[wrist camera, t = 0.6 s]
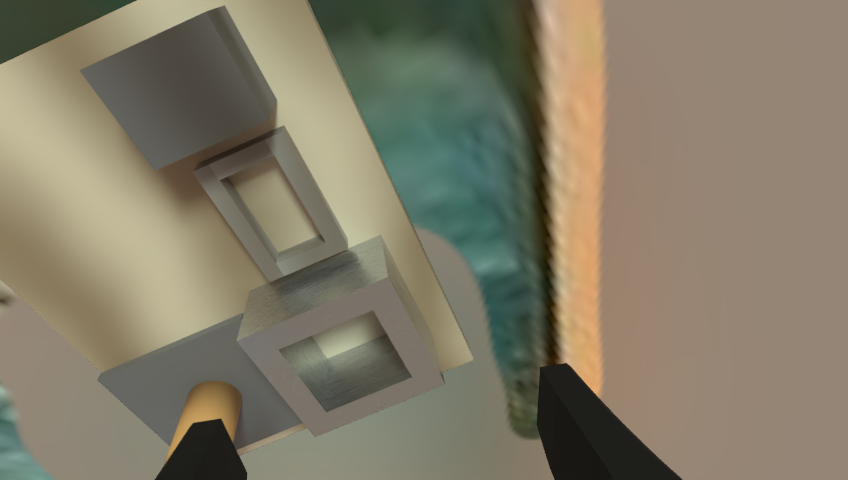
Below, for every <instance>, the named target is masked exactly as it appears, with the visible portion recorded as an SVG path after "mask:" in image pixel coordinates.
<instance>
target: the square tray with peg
mask: <svg viewBox="0 0 848 480" xmlns="http://www.w3.org/2000/svg"><path fill="white" fill-rule="evenodd" d="M242 318H243V313H241V314H239V315H236V316H234V317H232V318H229V319H227V320H224V321H222V322H220V323H217V324H215V325H213V326H210V327H208V328H206V329H203V330H201V331H199V332H196V333H194V334H192V335H189V336H187V337H185V338H182V339H180V340H178V341H175V342H173V343H170V344H168V345H166V346H163V347H161V348H159V349H156V350H154V351H152V352H149V353H147V354H145V355H142V356H140V357H138V358H135V359H133V360H131V361H128V362H126V363H123V364H121V365H119V366H116V367H114V368H112V369H109V370H107V371H105V372H102V373H101V375H100V376H99V378H98V381H99V382H100V383H101V384H102V385H103V386H105V388H107V389H108V390H109V391H110V392H111V393H112V394H113V395H114V396H115V397H116V398H118V399H119V400H120V401H121V402H122V403H123V404H124V405H125V406H126V407H127V408H129V409H130V410H131V411H132V412H133V413H134V414H135V415H136V416H137V417H138V418H140V419H141V420H142V421H143V422H144V423H145V424H146V425H147V426H148V427H149V428H150V429H152V430H153V431H154V432H155V433H156V434H157V435H158V436H159V437H160V438H162V440H164V441H165V442H166V443H167V444H168V445H169V446H170V449H169V452H168V455H167V458H166V460H165V464H166V462H167V461H168V459H169V458H170V456H171V455H172V453H173V451H174V450H175V448H176V447H177V445H178V444H179V442H180V441H181V439H182V438H183V436H184V435H185V433H186V432H187V430H188V429H189V427H190V426H191V425H192V424H193V423H195V422H202V421H208V420H214V419H220V418H221V419H222V421H223V423H224V425H225V427H226V429H227V432H228V434H229V436H230V438H231V440H232V442H233V444H234V446H235V448H236V450H238V449H240V448H243V447H245V446H248V445H250V444H253V443H255V442H257V441H260V440H262V439H265V438H267V437H270V436H272V435H274V434H277V433H279V432H282V431H284V430H287V429H289V428H292V427H294V426H296V425H299V424H301V423H303V422H302V421H301V419H300V418H299V417H298V416H297V414H296V413H295V412H294V411H293V410H292V408H291V407H290V406H289V405H288V403H287V402H286V401H285V400H284V399H283V397H282V396H281V395H280V394H279V392H278V391H277V390H276V389H275V388H274V386H273V385H272V384H271V383H270V382H269V380H268V379H267V378H266V377H265V375H264V374H263V373H262V372H261V371H260V369H259V368H258V367H257V366H256V364H255V363H254V362H253V361H252V360H251V358H250V357H249V356H248V355H247V353H246V352H245V351H244V350H243V349H242V347H241V346H240V345H239V344H238V342H237V337H238V333H239V329H240V326H241V322H242ZM165 464H164V465H165Z"/></svg>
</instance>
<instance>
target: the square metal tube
mask: <svg viewBox="0 0 848 480" xmlns="http://www.w3.org/2000/svg"><path fill="white" fill-rule="evenodd" d="M372 310H373V311H374V313H375V314H376V316H377V318H378V320H379V321H380V323H381V325H382V326H383V328H384V330H385V332H386V333H387V334H385V335H383V336H380V337H378V338H376V339H373V340H371V341H368V342H366V343H363V344H361V345H359V346H356V347H354V348H351V349H349V350H347V351H344V352H342V353H339V354H337V355H335V356H332V357H330V358H327V357H326V356H325V354H324V353H323V351H322V350H321V349H320V347H319V346H318V344H317V343H316V341H315V340H314V338H313V337H312V335H315V334H317V333H319V332H322V331H324V330H326V329H329V328H331V327H334V326H336V325H338V324H341V323H343V322H346V321H348V320H350V319H353V318H355V317H357V316H360V315H362V314H365V313H367V312H369V311H372ZM237 342H238V344H239V345H240V346H241V347H242V349H243V350H244V351H245V352H246V353H247V355H248V356H249V357H250V358H251V360H252V361H253V362H254V363H255V364H256V366H257V367H258V368H259V369H260V371H261V372H262V373H263V374H264V375H265V377H266V378H267V379H268V380H269V382H270V383H271V384H272V385H273V386H274V388H275V389H276V390H277V391H278V392H279V394H280V395H281V396H282V397H283V399H284V400H285V401H286V402H287V403H288V405H289V406H290V407H291V408H292V410H293V411H294V412H295V413H296V414H297V416H298V417H299V418H300V419H301V421H302V422H303V423H304V424H305V425H306V427H307V428H308V429H309V430H310V431H311V433H312V434H313V435H314V436H315V437H316V436H319V435H321V434H324V433H326V432H329V431H331V430H334V429H336V428H339V427H341V426H344V425H346V424H349V423H351V422H353V421H356V420H358V419H361V418H363V417H366V416H368V415H370V414H373V413H375V412H378V411H380V410H383V409H385V408H388V407H390V406H393V405H395V404H397V403H400V402H402V401H405V400H407V399H410V398H412V397H415V396H417V395H420V394H422V393H424V392H427V391H429V390H432V389H434V388H437V387H439V386H442V385H444V384H445V381H444V377H443V374H442V370H441V366H440V362H439V358H438V354H437V351H436V347H435V343H434V339H433V335H432V333H431V331H430V329H429V327H428V325H427V323H426V321H425V319H424V317H423V315H422V313H421V311H420V310H419V308H418V306H417V304H416V302H415V300H414V298H413V296H412V294H411V292H410V290H409V288H408V286H407V284H406V282H405V280H404V278H403V277H402V275H401V273H400V271H399V269H398V267H397V265H396V263H395V261H394V259H393V257H392V255H391V253H390V251H389V249H388V247H387V245H386V244H385V242H384V240H383V238H382V236H381V235H378V236H376V237H374V238H371V239H369V240H366V241H364V242H362V243H359V244H357V245H355V246H352V247H350V248H348V249H347V250H344V251H342V252H340V253H337V254H335V255H333V256H330V257H328V258H326V259H323V260H321V261H319V262H316V263H314V264H312V265H309V266H307V267H305V268H302V269H300V270H298V271H295V272H293V273H291V274H288V275H286V276H284V277H281V278H279V279H277V280H274V281H272V282H268V283H266V284H264V285H261V286H259V287H257V288H254V289H252V290H250V292H249V296H248V299H247V303H246V307H245V311H244V314H243V318H242V322H241V326H240V329H239V333H238V337H237Z"/></svg>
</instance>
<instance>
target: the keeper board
mask: <svg viewBox="0 0 848 480" xmlns="http://www.w3.org/2000/svg"><path fill="white" fill-rule="evenodd" d="M378 235H381V236H382V238H383V240H384V242H385V244H386V245H387V247H388V249H389V251H390V253H391V255H392V257H393V259H394V261H395V263H396V265H397V267H398V269H399V271H400V273H401V275H402V277H403V278H404V280H405V282H406V284H407V286H408V288H409V290H410V292H411V294H412V296H413V298H414V300H415V302H416V304H417V306H418V308H419V310H420V311H421V313H422V315H423V317H424V319H425V321H426V323H427V325H428V327H429V329H430V331H431V333H432V335H433V339H434V343H435V347H436V351H437V354H438V358H439V362H440V366H441V370H442V373H443V372H445V371H448V370H450V369H452V368H455V367H457V366H460V365H462V364H465V363H467V362H470V361H472V360H474V358H473V355H472V353H471V350H470V347H469V344H468V342H467V340H466V338H465V336H464V334H463V332H462V329H461V327H460V325H459V323H458V321H457V319H456V317H455V315H454V312H453V310H452V308H451V306H450V304H449V302H448V299H447V297H446V295H445V293H444V291H443V289H442V287H441V285H440V282H439V280H438V278H437V276H436V274H435V272H434V270H433V267H432V266H431V263H430V261H429V259H428V257H427V255H426V252H425V250H424V248H423V246H422V244H421V242H420V240H419V238H418V235H417V233H416V231H415V229H414V227H413V225H412V222H411V220H410V218H409V216H408V214H407V212H406V210H405V207H404V205H403V203H402V201H401V199H400V197H399V195H398V193H397V190H396V188H395V186H394V184H393V182H392V180H391V178H390V175H389V173H388V171H387V169H386V167H385V165H384V163H383V160H382V158H381V156H380V154H379V152H378V150H377V148H376V145H375V143H374V141H373V139H372V137H371V135H370V133H369V130H368V128H367V126H366V124H365V122H364V120H363V118H362V116H361V113H360V111H359V109H358V107H357V105H356V103H355V101H354V98H353V96H352V94H351V92H350V90H349V88H348V86H347V83H346V81H345V79H344V77H343V75H342V73H341V71H340V68H339V66H338V64H337V62H336V60H335V58H334V56H333V54H332V51H331V49H330V47H329V45H328V43H327V41H326V39H325V36H324V34H323V32H322V30H321V28H320V26H319V24H318V21H317V19H316V17H315V15H314V13H313V11H312V9H311V6H310V4H309V2H308V0H137V1H135V2H133V3H131V4H129V5H126V6H124V7H122V8H120V9H118V10H116V11H114V12H112V13H109V14H107V15H105V16H103V17H101V18H99V19H97V20H95V21H92V22H90V23H88V24H86V25H84V26H82V27H80V28H77V29H75V30H73V31H71V32H69V33H67V34H65V35H63V36H60V37H58V38H56V39H54V40H52V41H50V42H48V43H45V44H43V45H41V46H39V47H37V48H35V49H33V50H31V51H28V52H26V53H24V54H22V55H20V56H18V57H16V58H14V59H11V60H9V61H7V62H5V63H3V64H1V65H0V279H1V280H2V281H3V282H4V283H5V284H6V285H7V286H8V287H10V288H11V289H12V290H13V291H14V292H15V293H16V294H17V295H18V296H19V297H20V298H21V299H22V300H24V301H25V302H26V303H27V304H28V305H29V306H30V307H31V308H32V309H33V310H34V311H36V313H38V314H39V315H40V316H41V317H42V318H43V319H44V320H45V321H46V322H47V323H48V324H49V325H50V326H52V327H53V328H54V329H55V330H56V331H57V332H58V333H59V334H60V335H61V336H62V337H63V338H64V339H66V340H67V341H68V342H69V343H70V344H71V345H72V346H73V347H74V348H75V349H76V350H77V351H79V352H80V353H81V354H82V355H83V356H84V357H85V358H86V359H87V360H88V361H89V362H90V363H91V364H92V365H94V366H95V367H96V368H97V369H98V370H99V371H100V372H101V373H102V372H105V371H107V370H109V369H112V368H114V367H116V366H119V365H121V364H123V363H126V362H128V361H131V360H133V359H135V358H138V357H140V356H142V355H145V354H147V353H149V352H152V351H154V350H156V349H159V348H161V347H163V346H166V345H168V344H170V343H173V342H175V341H178V340H180V339H182V338H185V337H187V336H189V335H192V334H194V333H196V332H199V331H201V330H203V329H206V328H208V327H210V326H213V325H215V324H217V323H220V322H222V321H224V320H227V319H229V318H232V317H234V316H236V315H239V314H241V313H243V314H244V311H245V307H246V303H247V299H248V296H249V292H250V290H252V289H254V288H257V287H259V286H261V285H264V284H266V283H268V282H272V281H274V280H277V279H279V278H281V277H284V276H286V275H288V274H291V273H293V272H295V271H298V270H300V269H302V268H305V267H307V266H309V265H312V264H314V263H316V262H319V261H321V260H323V259H326V258H328V257H330V256H333V255H335V254H337V253H340V252H342V251H344V250H347V249H348V248H350V247H352V246H355V245H357V244H359V243H362V242H364V241H366V240H369V239H371V238H374V237H376V236H378ZM385 334H387V333H386V332H385V330H384V328H383V326H382V325H381V323H380V321H379V320H378V318H377V316H376V314H375V313H374V311H373V310H372V311H369V312H367V313H365V314H362V315H360V316H357V317H355V318H353V319H350V320H348V321H346V322H343V323H341V324H338V325H336V326H334V327H331V328H329V329H326V330H324V331H322V332H319V333H317V334H315V335H312V337H313V338H314V340H315V341H316V343H317V344H318V346H319V347H320V349H321V350H322V351H323V353H324V354H325V356H326V357H327V358H330V357H332V356H335V355H337V354H339V353H342V352H344V351H347V350H349V349H351V348H354V347H356V346H359V345H361V344H363V343H366V342H368V341H371V340H373V339H376V338H378V337H380V336H383V335H385ZM306 428H307V427H306V425H305V424H304V423H301V424H299V425H296V426H294V427H292V428H289V429H287V430H284V431H282V432H279V433H277V434H274V435H272V436H270V437H267V438H265V439H262V440H260V441H257V442H255V443H253V444H250V445H248V446H245V447H243V448H240V449H238V450H236V451H237V453H238V455H239V456H240V455H242V454H244V453H247V452H249V451H252V450H254V449H257V448H259V447H262V446H264V445H267V444H269V443H271V442H274V441H276V440H279V439H281V438H284V437H286V436H289V435H291V434H293V433H296V432H298V431H301V430H303V429H306Z"/></svg>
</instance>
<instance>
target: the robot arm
mask: <svg viewBox="0 0 848 480" xmlns="http://www.w3.org/2000/svg"><path fill="white" fill-rule="evenodd" d="M537 427H538V430H539V434H540V437H541V440H542V443H543V447H544V450H545V454H546V457H547V460H548V463H549V466H550V469H551V472H552V474H553V476H554V479H555V480H682V479H681V478H680V477H679V476H678V475H677V474H676V473H675V472H674V471H672V470H671V469H670V468H669V467H668V466H667V465H666V464H664V462H662V461H661V460H660V459H659V458H658V457H657V456H656V455H655V454H654V453H653V452H652V451H651V450H650V449H649V448H648V447H646V446H645V445H644V444H643V443H642V442H641V441H640V440H639V439H638V438H637V437H636V436H635V435H634V434H633V433H632V432H631V431H630V430H629V429H628V428H627V427H626V426H625V425H624V424H623V423H622V422H621V421H620V420H619V419H618V418H617V417H616V416H615V415H614V414H613V413H612V412H611V410H610V409H609V408H608V407H607V406H606V405H605V404H604V403H603V402H602V401H601V400H600V399H599V398H598V397H597V396H596V394H595V393H594V392H593V391H592V390H591V389H590V388H589V387H588V386H587V385H586V383H585V382H584V381H583V380H582V379H581V378H580V377H579V376H578V374H577V373H576V372H575V371H574V370H573V369H572V367H571V366H569V365H568V364H567V363H564V364H558V365H552V366H545V367H540V380H539V397H538V413H537ZM155 480H247V472H246V469H245V467H244V465H243V463H242V461H241V459H240V457H239V455H238V453H237V451H236V448H235V446H234V444H233V442H232V440H231V438H230V436H229V434H228V432H227V429H226V427H225V425H224V423H223V421H222V419H221V418H220V419H214V420H208V421H202V422H195V423H193V424H192V425H191V426H190V427H189V429H188V430H187V432H186V433H185V435H184V436H183V438H182V439H181V441H180V442H179V444H178V445H177V447H176V448H175V450H174V451H173V453H172V455H171V456H170V458H169V459H168V461H167V462H166V464H165V465H164V467H163V468H162V470H161V471H160V473H159V474H158V476H157V477H156V479H155Z"/></svg>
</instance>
